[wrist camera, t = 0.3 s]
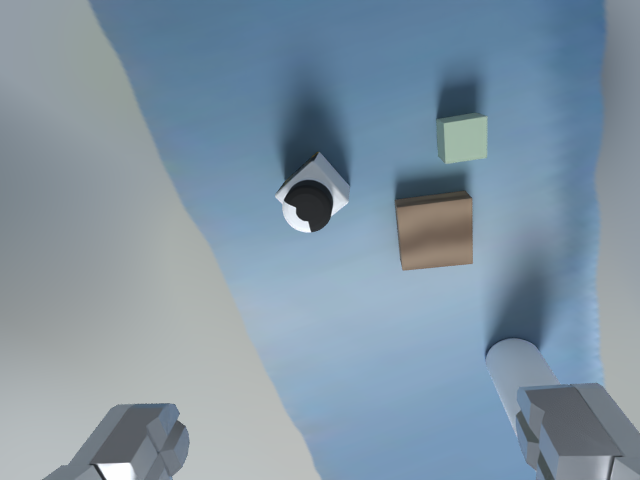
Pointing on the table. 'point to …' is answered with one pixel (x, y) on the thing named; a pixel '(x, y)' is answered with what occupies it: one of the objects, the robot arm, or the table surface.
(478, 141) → the sage green block
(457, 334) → the table surface
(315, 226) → the medicine bottle
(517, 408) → the alcohol
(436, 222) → the walnut block
